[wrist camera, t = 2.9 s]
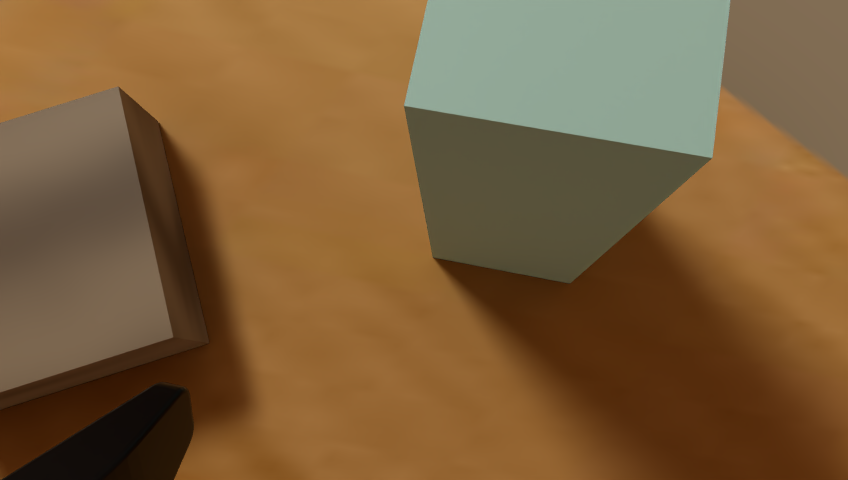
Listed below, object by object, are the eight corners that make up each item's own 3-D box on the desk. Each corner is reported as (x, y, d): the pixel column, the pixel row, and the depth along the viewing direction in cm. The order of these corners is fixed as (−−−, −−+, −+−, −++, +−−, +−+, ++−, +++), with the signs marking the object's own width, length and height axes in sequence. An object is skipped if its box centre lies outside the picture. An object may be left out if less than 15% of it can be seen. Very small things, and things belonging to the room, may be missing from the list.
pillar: (569, 283, 23) (712, 157, 10) (432, 257, 23) (404, 105, 11) (590, 153, 24) (743, -110, 11) (458, 130, 24) (460, -146, 12)
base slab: (209, 342, 23) (173, 337, 20) (-33, 420, 23) (-105, 425, 20) (157, 121, 25) (118, 86, 22) (-65, 190, 25) (-135, 164, 22)
